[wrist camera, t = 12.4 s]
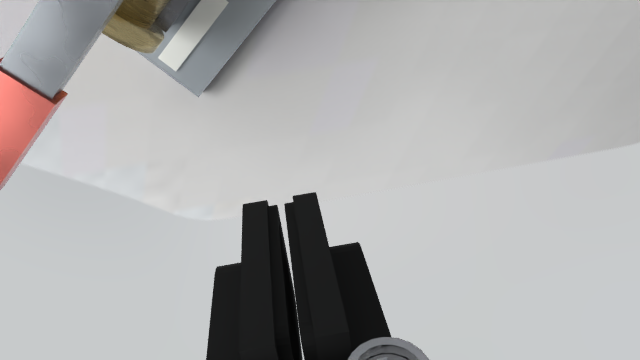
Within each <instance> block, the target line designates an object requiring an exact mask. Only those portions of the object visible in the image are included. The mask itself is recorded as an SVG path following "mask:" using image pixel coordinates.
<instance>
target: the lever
mask: <svg viewBox="0 0 640 360" xmlns="http://www.w3.org/2000/svg"><path fill="white" fill-rule="evenodd" d="M122 2H123V0H39V2H38V3H37V5H36V7H35V8H34V10H33V11H32V13H31V15H30V16H29V18H28V19H27V21H26V23H25V24H24V26H23V27H22V29H21V31H20V32H19V34H18V36H17V37H16V39H15V40H14V42H13V44H12V45H11V47H10V48H9V50H8V52H7V53H6V55H5V56H4V57H3V58H1V59H0V190H1V189H2V188H3V186H5V184H6V183H7V181H8V180H9V178H10V177H11V175H12V174H13V173H14V171H15V170H16V168H17V166H18V165H19V164H20V162H21V161H22V159H23V158H24V157H25V155H26V154H27V152H28V151H29V149H30V148H31V146H32V145H33V144H34V142H35V141H36V139H37V138H38V136H39V135H40V133H41V132H42V130H43V129H44V128H45V126H46V125H47V123H48V122H49V120H50V119H51V117H52V116H53V115H54V113H55V112H56V110H57V109H58V107H59V106H60V104H61V103H62V101H63V100H64V99H65V97H66V96H67V93H66V92H64V91H63V88H64V87H65V85H66V84H67V82H68V81H69V80H70V78H71V77H72V75H73V74H74V72H75V71H76V69H77V68H78V66H79V65H80V63H81V62H82V60H83V59H84V58H85V56H86V55H87V53H88V52H89V50H90V49H91V47H92V46H93V44H94V43H95V41H96V40H97V39H98V37H99V36H100V34H101V33H102V31H103V30H104V28H105V27H106V25H107V24H108V22H109V21H110V20H111V18H112V17H113V15H114V14H115V12H116V11H117V9H118V8H119V6H120V5H121V3H122Z"/></svg>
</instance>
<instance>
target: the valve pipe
mask: <svg viewBox="0 0 640 360" xmlns="http://www.w3.org/2000/svg"><path fill="white" fill-rule="evenodd" d="M190 1H191V0H123V2H122V3H121V5H120V6H119V8H118V9H117V11H116V12H115V14H114V15H113V17H112V18H111V20H110V21H109V22H108V24H107V25H106V27H105V28H104V30H103V31H102V33H103V34H105V35H106V36H108V37H110V38H111V39H113V40H115V41H117V42H118V43H120V44H122V45H124V46H126V47H129V48H131V49H133V50H136V51H139V52H142V53H153V52H155V50H156V49H157V48H158V46H159V45H160V44H161V42H162V41H163V39H164V33H163V31H164V32H167V31H168V30H169V29H170V27H171V26H172V25H173V24H174V22H175V21H176V20H177V18H178V17H179V15H180V14H181V13H182V11H183V10H184V9H185V7H186V6H187V5H188V3H189V2H190ZM162 30H163V31H162Z"/></svg>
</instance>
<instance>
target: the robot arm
mask: <svg viewBox="0 0 640 360" xmlns="http://www.w3.org/2000/svg"><path fill="white" fill-rule="evenodd" d="M285 213H286V221H287V230H288V238H289V246H290V254H291V262H292V271H293V280H294V288H295V295H294V290H293V284H292V278H291V273H290V268H289V263H288V258H287V253H286V247H285V243H284V237H283V232H282V227H281V222H280V217H279V211H278V207H277V205H274V206H268V202H267V200H266V201H260V202H254V203H248V204H243V216H242V255H241V256H242V257H241V263H236V264H230V265H224V266H219V267H217V268H216V272H215V278H214V289H213V298H212V308H211V318H210V328H209V338H208V348H207V358H206V360H302V351H301V343H302V348H303V353H304V359H305V360H429V359H428V358H427V356H426V355H425V354H424V353H423V352H422V350H421V349H419V348H418V347H416V346H415V345H413V344H412V343H410V342H408V341H405V340H402V339H399V338H392V337H391V335H390V332H389V329H388V326H387V323H386V320H385V317H384V314H383V311H382V308H381V305H380V302H379V299H378V296H377V293H376V290H375V287H374V284H373V282H372V278H371V275H370V272H369V269H368V266H367V264H366V261H365V258H364V255H363V252H362V249H361V246H360V244H359V243H358V242H356V243H351V244H345V245H339V246H333V247H329V245H328V241H327V237H326V232H325V228H324V224H323V220H322V216H321V212H320V208H319V203H318V199H317V195H316V192H314V193H308V194H302V195H296V196H293V202H292V203H286V204H285ZM295 297H296V301H295ZM296 305H297V309H296ZM297 313H298V318H297ZM298 322H299V327H298ZM299 328H300V334H299ZM300 336H301V343H300Z"/></svg>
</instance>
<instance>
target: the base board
mask: <svg viewBox="0 0 640 360" xmlns="http://www.w3.org/2000/svg"><path fill="white" fill-rule="evenodd" d="M275 1H276V0H191V1H190V2H189V3H188V5H187V6H186V7H185V9H184V10H183V11H182V13H181V14H180V15H179V17H178V18H177V20H176V21H175V22H174V24H173V25H172V26H171V27H170V29H169V30H168V31H167V32H164V31H163V30H162V31H163V33H164V39H163V41H162V42H161V44H160V45H159V46H158V48H157V49H156V50H155V52H153V53H142V52H139V51H137V52H138V53H139V54H141V55H142V56H143V57H145V58H146V59H147V60H149V61H150V62H152V63H153V64H154V65H156V66H157V67H158V68H160V69H161V70H162V71H164V72H165V73H166V74H168V75H169V76H171V77H172V78H173V79H175V80H176V81H177V82H179V83H180V84H181V85H183V86H184V87H185V88H187V89H188V90H190V91H191V92H192V93H194V94H195V95H196V96H198V97H199V96H200V95H201V93H202V92H203V91H204V90H205V88H206V87H207V86H208V85H209V84H210V82H211V81H212V80H213V79H214V77H215V76H216V75H217V74H218V72H219V71H220V70H221V69H222V67H223V66H224V65H225V64H226V62H227V61H228V60H229V59H230V57H231V56H232V55H233V54H234V52H235V51H236V50H237V49H238V47H239V46H240V45H241V44H242V42H243V41H244V40H245V39H246V37H247V36H248V35H249V34H250V32H251V31H252V30H253V29H254V28H255V26H256V25H257V24H258V23H259V21H260V20H261V19H262V18H263V16H264V15H265V14H266V13H267V11H268V10H269V9H270V8H271V6H272V5H273V4H274V3H275ZM135 51H136V50H135Z"/></svg>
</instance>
